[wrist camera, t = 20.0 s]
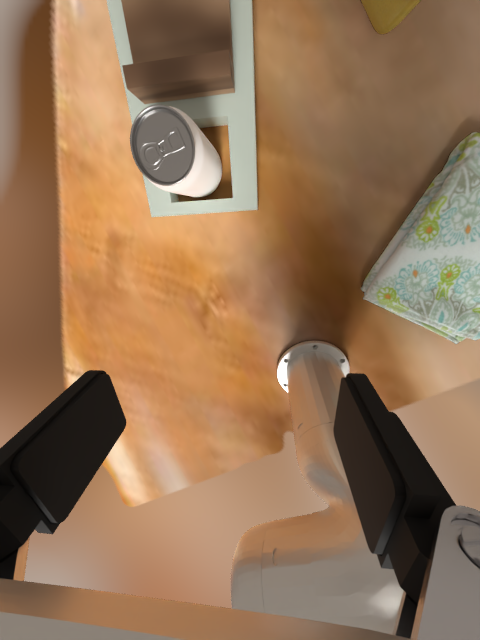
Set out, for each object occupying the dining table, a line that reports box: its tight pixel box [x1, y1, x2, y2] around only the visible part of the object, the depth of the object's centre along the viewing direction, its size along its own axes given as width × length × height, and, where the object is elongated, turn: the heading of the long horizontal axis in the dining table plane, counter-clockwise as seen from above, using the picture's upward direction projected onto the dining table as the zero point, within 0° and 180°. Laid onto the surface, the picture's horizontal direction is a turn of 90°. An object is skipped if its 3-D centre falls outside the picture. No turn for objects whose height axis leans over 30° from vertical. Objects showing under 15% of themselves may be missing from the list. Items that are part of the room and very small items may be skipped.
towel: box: [361, 132, 480, 344], centre depth 30 cm, size 18×21×5 cm
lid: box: [121, 0, 235, 104], centre depth 21 cm, size 9×10×4 cm
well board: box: [107, 0, 258, 217], centre depth 27 cm, size 20×14×3 cm
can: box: [130, 104, 222, 197], centre depth 25 cm, size 6×6×12 cm
